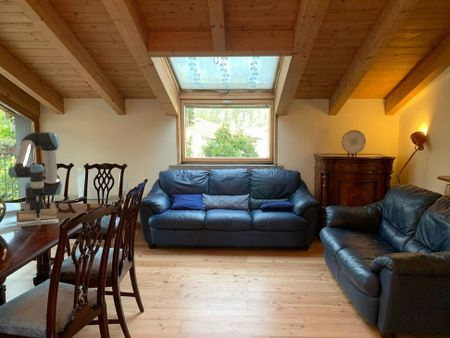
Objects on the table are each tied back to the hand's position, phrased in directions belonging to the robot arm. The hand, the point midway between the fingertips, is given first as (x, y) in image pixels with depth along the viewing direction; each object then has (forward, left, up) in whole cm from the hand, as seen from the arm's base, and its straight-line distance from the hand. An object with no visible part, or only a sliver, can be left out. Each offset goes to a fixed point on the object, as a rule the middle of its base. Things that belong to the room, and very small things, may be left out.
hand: (38, 221), depth 210 cm
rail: (0, 0, +2) cm, 2 cm away
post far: (-13, +9, -1) cm, 16 cm away
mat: (0, 0, -1) cm, 1 cm away
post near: (-13, -7, -1) cm, 15 cm away
